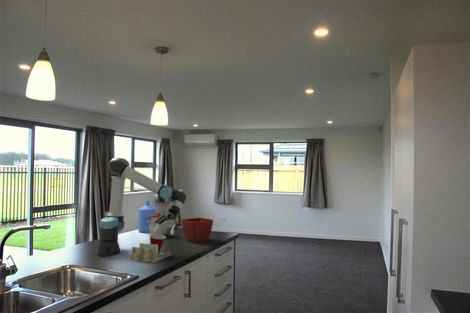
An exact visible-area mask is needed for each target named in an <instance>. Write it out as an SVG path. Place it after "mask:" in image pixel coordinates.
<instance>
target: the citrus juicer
mask: <svg viewBox="0 0 470 313" xmlns="http://www.w3.org/2000/svg"><path fill="white" fill-rule="evenodd" d="M161 215H162V214H161V212H156V215H151V216H149V220H148V221H147V223H149V229H150V233H149V235H150V234H153V233H154V232H153V230H154V227H155V225H156V223H155V221H156V220H157V219H158V218H159V217H160V216H161ZM166 218H167V217H166ZM167 229H168V220H166V221H164V222H163V223H161V224H160V226H159V228H158V230H157V232H156V234H162V235H164V236H166V233H167V231H168V230H167Z"/></svg>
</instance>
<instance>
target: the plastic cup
mask: <svg viewBox="0 0 470 313" xmlns="http://www.w3.org/2000/svg"><path fill="white" fill-rule="evenodd" d="M166 238H167V236H166V235H165V236H164V235H162V234H156V233H153V234H150V233H149V244H154V245H158V254H159V253H161V249H162V247H163V244H164V241H165V240H166Z"/></svg>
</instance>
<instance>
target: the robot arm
mask: <svg viewBox="0 0 470 313" xmlns="http://www.w3.org/2000/svg"><path fill="white" fill-rule="evenodd" d="M107 167H108V170H109V171H110V177H111V178H112V181H111V192H110V202H109V210H108V211H109V212H108V213H107V214H106V217H104V218H101V219H100V221H99V242H98V246H97V249H96V255H97V256H101V257H110V256H116V255H119V254H121V248H120V244H119V233H121V232H122V231H123V229H124V228H125V219H124V218H125V215H124V213H123V204H124V195H125V194H124V193H125V184H126V180H130V182H133V183H135V184H137V185H139V186H141V187H142V188H145V189H146V190H148V191H150V192H152V193H154V194H156V195H158V196H159V197H161V198H162V199H163V200H167V199H170V200H172V203H171V205H170V207H169V209H168V212H165V211H164V212H163V213H162V214H161V216H160V217H159V218H158V219H157V220H156V221H155V223H156V225H155V227H154V230H153V232H154V233H156V232H157V230H158V228H159V226H160V224H161V223H163V222H164V221H166V220H167V221H170V220H171V221H173V222H174V225H173V226H172V228H171V230H170V235H171V236H173V235H174V233H175V232H176V231H177V229H178V228H179V227H182V223H181V220H182V214H181V210H182V209H183V206H184V204H185V202H186V200H187V198H188V193H189V192H188V190H185V189H182V188H180V189H179V190H178V189H175V188H173V187H171V186H169V185H167V184H162V183H161V182H158V181H156V180H154V179H153V178H151V177H149V176H147V175H145V174H143V173H141V172H140V171H137V170H136V169H134V168H132V167H131V165H130V162H129V161H128V160H127V159H125V158H123V157H113V158H112V159H110V160H109V162H108V165H107ZM166 217H167V218H166Z"/></svg>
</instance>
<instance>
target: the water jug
mask: <svg viewBox="0 0 470 313" xmlns="http://www.w3.org/2000/svg"><path fill="white" fill-rule="evenodd" d="M156 214H157V208H156V207H154V206H153V205H152V206H151V205H150V200H145V205H144V206H142V207H140V208H139V209H138V229H137V230H138V232H139V233H141V234H142V233H143V234H148V233H149V234H150V229H149V223H147V221H148V220H149V216H151V215H156Z"/></svg>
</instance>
